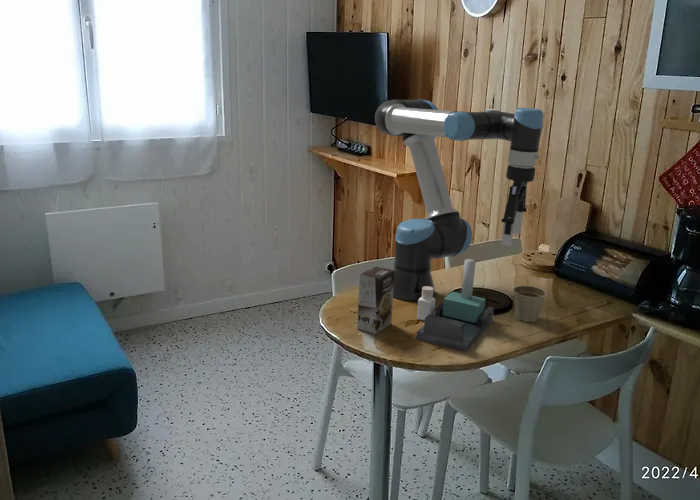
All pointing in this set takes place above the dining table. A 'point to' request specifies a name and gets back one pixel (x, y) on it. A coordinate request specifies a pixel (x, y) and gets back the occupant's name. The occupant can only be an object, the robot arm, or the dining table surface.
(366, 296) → the coffee box
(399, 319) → the dining table surface
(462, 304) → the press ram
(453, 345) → the tray
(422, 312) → the pepper shaker
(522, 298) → the flower pot
